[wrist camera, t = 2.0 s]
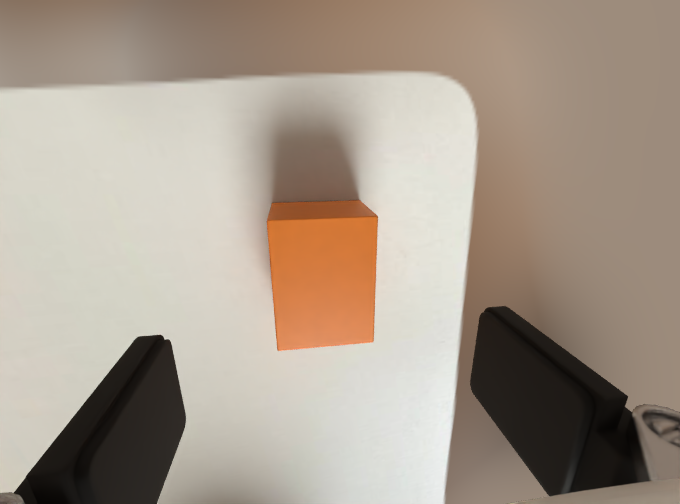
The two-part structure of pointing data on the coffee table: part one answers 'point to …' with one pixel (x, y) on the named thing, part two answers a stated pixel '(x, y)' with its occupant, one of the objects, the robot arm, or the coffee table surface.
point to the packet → (322, 272)
